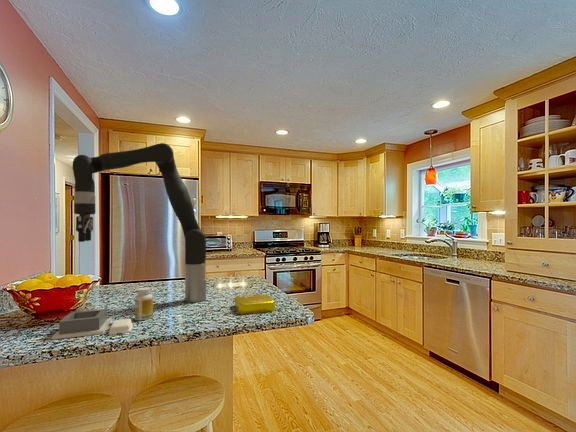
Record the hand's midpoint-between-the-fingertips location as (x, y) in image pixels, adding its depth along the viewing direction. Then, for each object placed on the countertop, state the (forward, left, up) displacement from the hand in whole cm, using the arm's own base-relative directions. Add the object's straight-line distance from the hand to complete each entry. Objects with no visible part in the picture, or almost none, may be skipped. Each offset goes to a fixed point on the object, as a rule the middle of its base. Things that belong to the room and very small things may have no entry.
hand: (84, 241), depth 127 cm
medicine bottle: (+5, -4, -29) cm, 30 cm away
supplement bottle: (-25, +21, -29) cm, 44 cm away
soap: (-19, +31, -30) cm, 47 cm away
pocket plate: (-7, +27, -29) cm, 40 cm away
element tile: (-68, +23, -30) cm, 77 cm away
